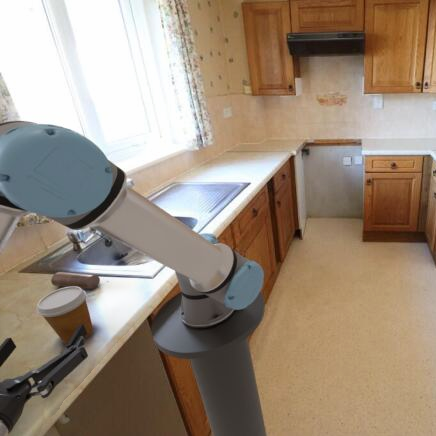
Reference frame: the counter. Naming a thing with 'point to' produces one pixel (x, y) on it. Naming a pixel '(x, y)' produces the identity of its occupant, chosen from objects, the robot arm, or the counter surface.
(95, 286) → the brown rounded cylinder
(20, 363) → the counter surface
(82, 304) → the disposable coffee cup
